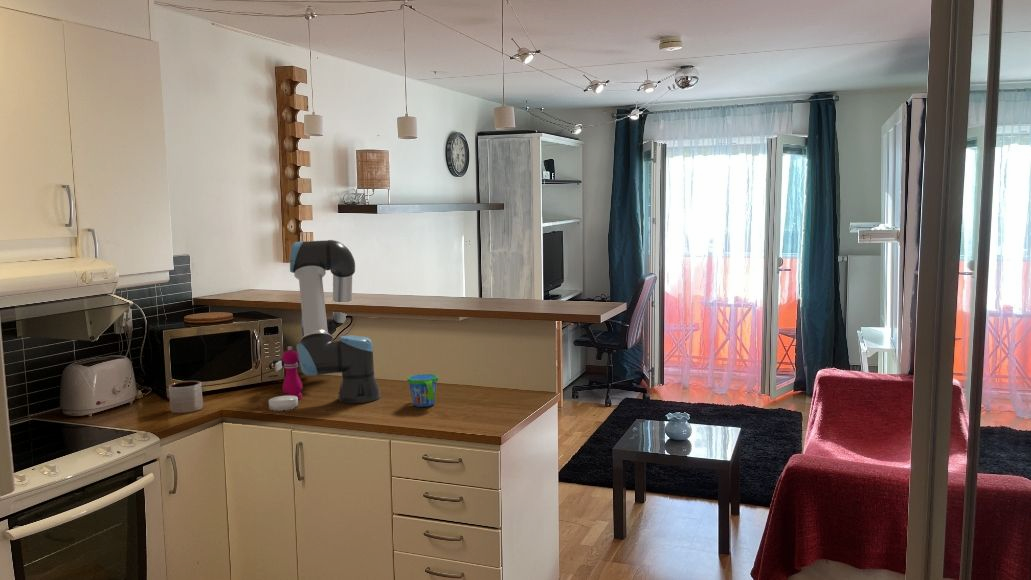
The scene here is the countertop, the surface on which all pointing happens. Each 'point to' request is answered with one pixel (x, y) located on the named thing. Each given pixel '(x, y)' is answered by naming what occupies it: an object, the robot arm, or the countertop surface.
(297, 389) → the pepper mill
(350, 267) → the robot arm
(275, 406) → the ceramic stand
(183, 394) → the planter
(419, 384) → the snack cup
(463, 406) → the countertop surface
